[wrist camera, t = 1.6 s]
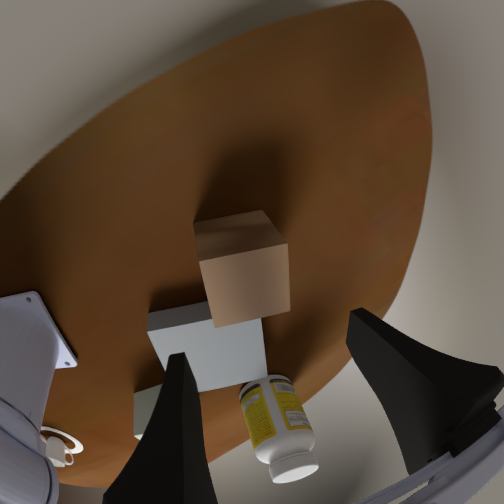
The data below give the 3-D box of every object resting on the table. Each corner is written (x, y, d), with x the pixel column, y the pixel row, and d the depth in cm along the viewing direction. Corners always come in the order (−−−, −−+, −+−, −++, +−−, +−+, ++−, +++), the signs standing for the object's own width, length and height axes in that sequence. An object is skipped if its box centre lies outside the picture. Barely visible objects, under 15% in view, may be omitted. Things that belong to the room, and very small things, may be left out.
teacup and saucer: (19, 429, 26) (15, 453, 23) (34, 413, 25) (28, 440, 21) (71, 454, 30) (69, 477, 27) (92, 441, 29) (91, 467, 26)
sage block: (159, 413, 28) (162, 453, 23) (134, 392, 25) (133, 435, 21) (195, 401, 28) (202, 443, 23) (172, 379, 25) (176, 424, 21)
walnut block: (205, 280, 21) (214, 328, 17) (192, 222, 19) (198, 261, 15) (267, 267, 22) (290, 310, 18) (261, 209, 20) (287, 243, 15)
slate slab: (176, 374, 26) (177, 395, 23) (148, 309, 22) (146, 331, 19) (260, 356, 27) (267, 376, 25) (251, 287, 23) (259, 308, 21)
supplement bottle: (242, 409, 30) (265, 490, 21) (234, 380, 27) (260, 475, 18) (291, 396, 31) (323, 473, 22) (291, 366, 28) (330, 454, 19)
